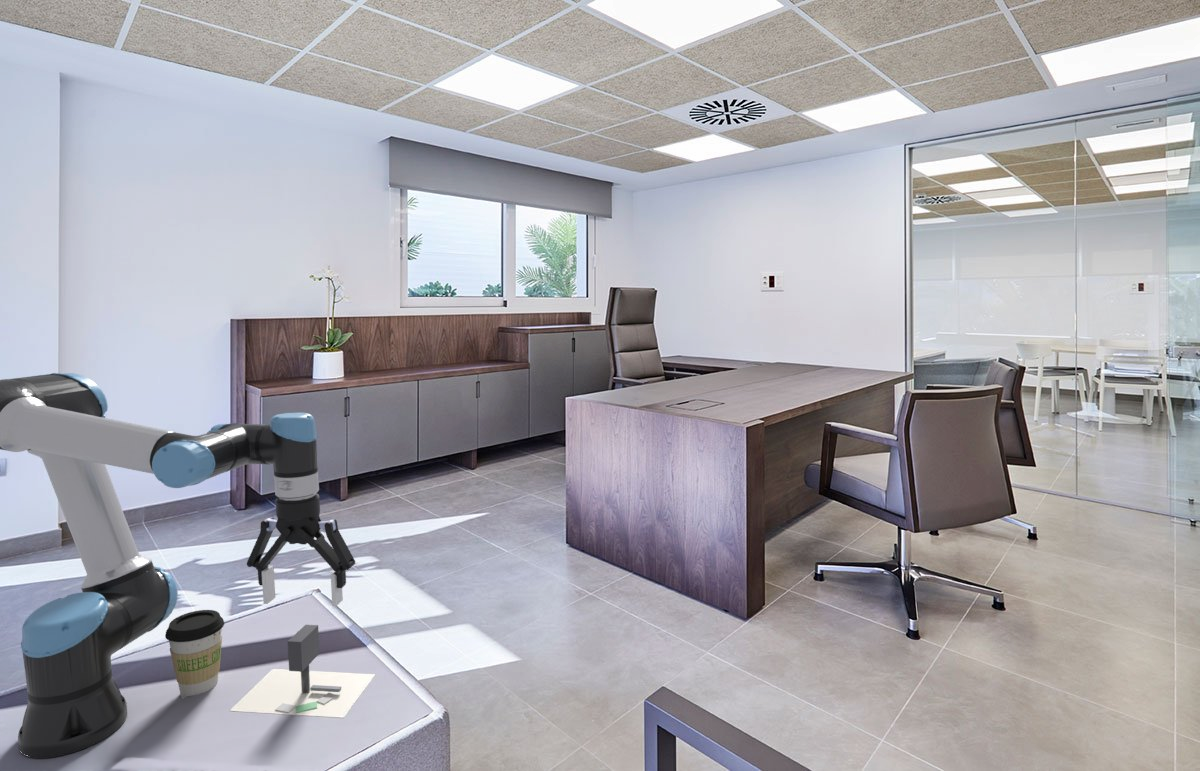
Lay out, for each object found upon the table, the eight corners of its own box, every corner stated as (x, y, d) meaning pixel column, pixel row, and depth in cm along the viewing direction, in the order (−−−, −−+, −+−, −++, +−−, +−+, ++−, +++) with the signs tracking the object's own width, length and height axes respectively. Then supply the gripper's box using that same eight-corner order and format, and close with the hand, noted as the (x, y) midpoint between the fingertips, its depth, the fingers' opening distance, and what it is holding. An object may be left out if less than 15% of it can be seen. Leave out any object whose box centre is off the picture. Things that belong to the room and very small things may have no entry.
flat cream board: (229, 716, 119) (229, 709, 119) (272, 674, 133) (272, 667, 133) (343, 723, 118) (343, 716, 117) (375, 679, 131) (375, 673, 131)
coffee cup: (200, 709, 121) (195, 635, 119) (157, 702, 123) (151, 629, 121) (239, 680, 131) (235, 611, 129) (198, 674, 132) (193, 605, 131)
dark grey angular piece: (290, 700, 122) (287, 641, 120) (308, 680, 128) (305, 624, 127) (332, 702, 121) (330, 643, 120) (347, 683, 128) (345, 626, 126)
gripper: (221, 499, 117) (229, 608, 120) (352, 502, 116) (357, 613, 118) (246, 488, 125) (253, 591, 127) (370, 490, 123) (374, 595, 126)
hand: (303, 602), depth 123 cm, fingers open, 13 cm apart
